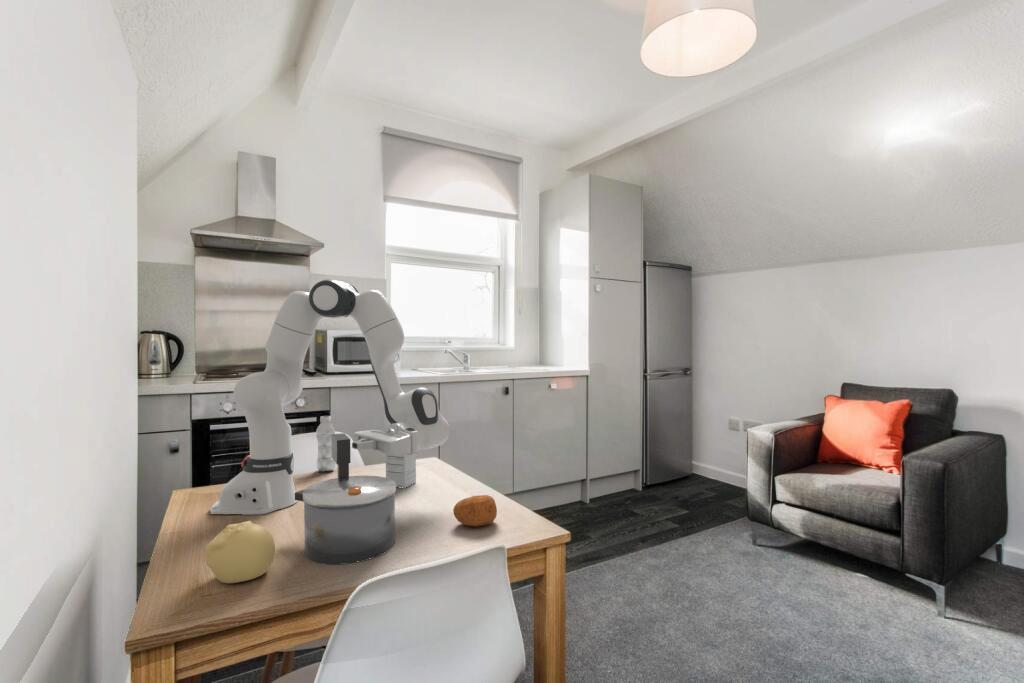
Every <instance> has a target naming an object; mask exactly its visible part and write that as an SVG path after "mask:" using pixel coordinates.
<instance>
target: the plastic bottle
mask: <svg viewBox="0 0 1024 683" xmlns="http://www.w3.org/2000/svg"><path fill="white" fill-rule="evenodd" d="M319 422H320V424H318V426H317V428H316V431H315V434H316V440H317V459H316V469H317V470H318V471H319V472H325V471H327V472H330V471H333V470H335V468H336V466H337V464H336V462H335V461H334V460H333V458H332V438H331V434H336V433H335V432H336V429H335V427H334V425H333V424H332V423H331V422H332V416H331V415H322V416H320V419H319Z"/></svg>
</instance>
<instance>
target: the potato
mask: <svg viewBox="0 0 1024 683" xmlns="http://www.w3.org/2000/svg"><path fill="white" fill-rule="evenodd" d="M497 512H498V510H497V505H496V501H495V499H494V498H493V497H492V496H490V495H488V494H486V495H485V494H484V495H472V496H469V497H466V498H463V499H461V500H458V501H457V503H456V504H455V505H454V506H453V515H454V518H455V519H456V520H457V522H459V523H461V524H462V525H465V526H468V527H475V528H476V527H477V528H478V527H483V526H487V525H491V523H493V522H494V521H495V520H496V518H497V515H498V513H497Z"/></svg>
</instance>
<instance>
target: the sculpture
mask: <svg viewBox="0 0 1024 683" xmlns="http://www.w3.org/2000/svg"><path fill="white" fill-rule="evenodd" d="M204 553H205V554H204V555H205V559H204V560H205V563H206V566H207V567H208V568H209V569H210V570H211V572H212V574H213V576H214V577H215V578H216V579H217V580H218V581H220V582H221V583H223V584H235V583H241V582H248V581H250V580H251V581H252V580H254V579H257V578H258V577H261V576H262V575H264V574H265V573H266V572H268V570H269V568H270V567H271V565H272V563H273V561H274V557H275V553H276V543H275V539H274V536H273V535H272V533H271V532H270V530H268V528H266V527H264V526H262V525H260V524H256V523H253V522H252V520H247V521H242V522H240V523H238V522H237V523H232V524H231V523H229V524H227V526H225V527H224V528H223V529H222V530H221V531H220V532H219V533H218V534H217V535H216V536H215V537H214V538H213V539H212V540H210V542H208V543H207V545H206V546H205V549H204Z"/></svg>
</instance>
